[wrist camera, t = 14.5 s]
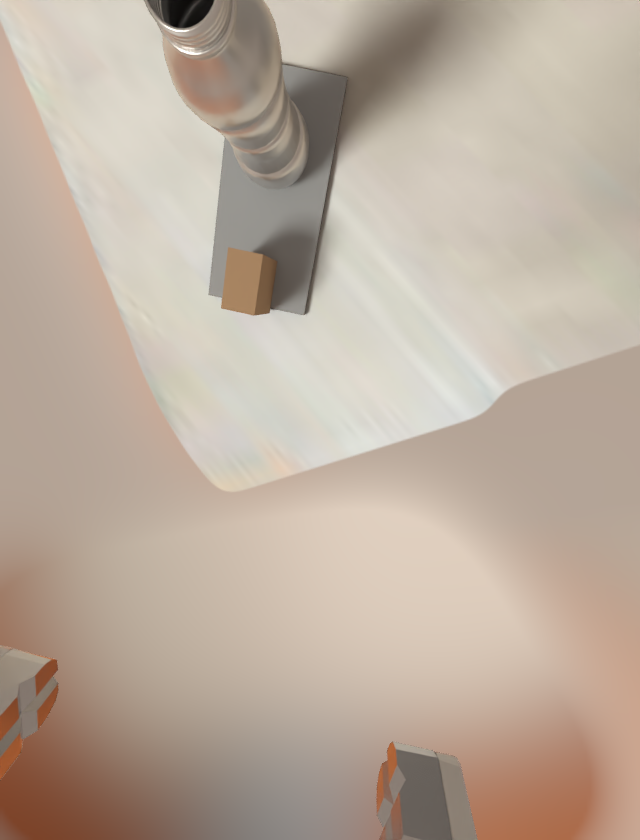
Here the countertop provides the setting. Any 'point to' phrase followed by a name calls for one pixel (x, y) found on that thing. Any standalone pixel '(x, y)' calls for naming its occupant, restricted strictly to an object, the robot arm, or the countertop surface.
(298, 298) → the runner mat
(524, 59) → the countertop surface
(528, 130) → the countertop surface
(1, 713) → the robot arm
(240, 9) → the plastic bottle
